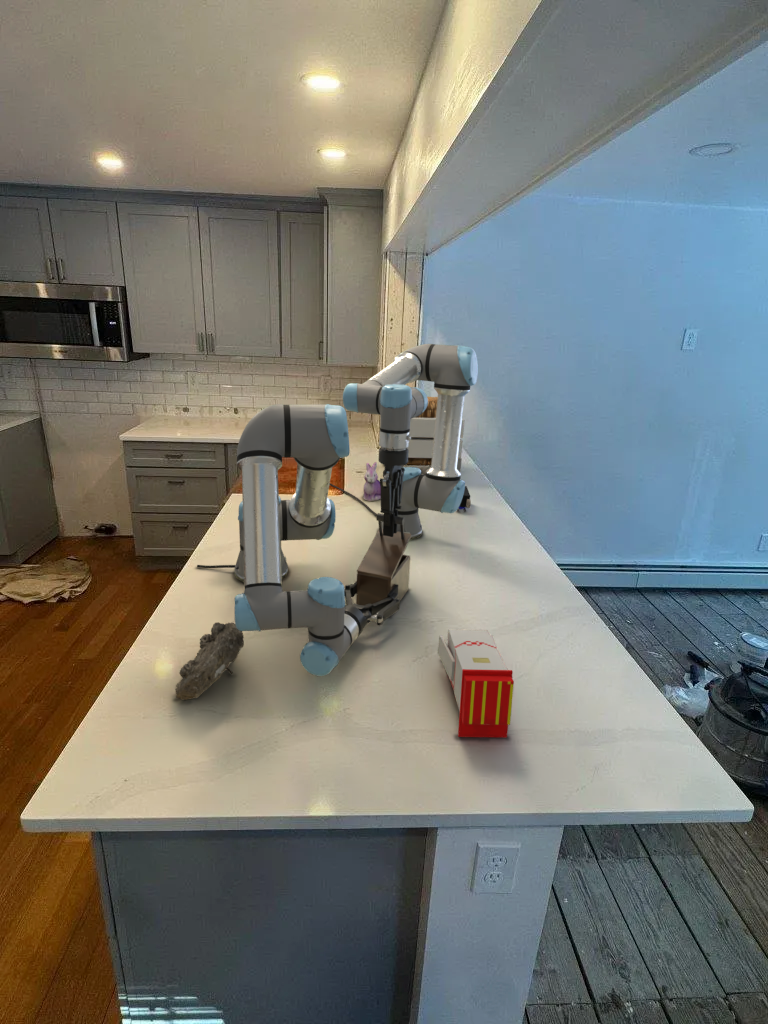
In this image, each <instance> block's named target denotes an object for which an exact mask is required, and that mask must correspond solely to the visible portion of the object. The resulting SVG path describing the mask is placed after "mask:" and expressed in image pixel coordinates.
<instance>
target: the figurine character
mask: <svg viewBox="0 0 768 1024" xmlns="http://www.w3.org/2000/svg"><path fill="white" fill-rule="evenodd" d="M471 501H472V500H471V494H470V491H469V488H468V486H467V485H465V490H464V494H463V498H462V501H461V503H460V506H459V508H458V509H457V510H456V512H460V510H463V511H464V513H466V512H467V509H470V508H471V505H472V504H471ZM466 508H467V509H466Z"/></svg>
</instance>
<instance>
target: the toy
mask: <svg viewBox="0 0 768 1024" xmlns="http://www.w3.org/2000/svg"><path fill="white" fill-rule="evenodd" d="M446 640H447V643H446V641H445V639H444V636H443V635H442V634H439V637H438V646H437V656H438V657H439V659H440V661H441V663H442V666H443V668H444V670H445V672H446V674H447V677H448V679H449V681H450V684H451V687H452V690H453V693H454V697H455V701H456V705H457V708H458V711H459V714H458V715H459V716H458V730H457V731H458V732H457V737H458V738H508V731H509V726H510V725H511V717H512V707H513V697H514V696H513V695H514V684H515V680H514V679H513V673H514V671H513V670H512V669H508V667H507V665H506V662H505V661H504V659H503V658H502V655H501V653H500V651H499V649H498V647H497V643H496V639H495V637H494V635H493V634H491V632H490V631H489V629H467V628H466V629H465V628H463V629H461V628H460V629H459V628H448V630H447V639H446Z"/></svg>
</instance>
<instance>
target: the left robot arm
mask: <svg viewBox="0 0 768 1024" xmlns="http://www.w3.org/2000/svg"><path fill="white" fill-rule="evenodd" d="M348 423H349V422H348V415H347V411H346V408H345V407H344V406H341V405H337V404H331V403H325V404H283V403H277V404H276V403H275V404H272V405H268V406H266V407H264V408H262V409H261V410H259V411H258V412H257V413H256V414H254V415H253V417H251V418H250V419H249V421H248V422H247V424H246V425H245V427H244V429H243V430H242V432H241V435H240V438H239V440H238V444H237V447H236V448H237V449H236V466H237V468H238V469H239V470H240V471H241V490H242V491H241V493H242V496H241V497H242V501H240V503H239V505H238V516H237V520H238V528H239V529H238V530H239V532H238V533H239V552H238V556H237V560H236V562H235V564H218V565H217V564H215V565H205V564H196V568H200V569H228V568H230V569H231V568H233V569H234V577H235V578H236V579H237V580H238V581H239V582H242V583H243V585H244V586H243V587H244V589H243V592H242V593H238V594H236V595H235V596H234V624H235V625H236V628H237V629H238V630H240V631H242V632H262V631H272V630H285V629H286V630H287V629H301V628H307V632H308V633H307V634H308V635H307V638H308V640H307V643H306V644H305V645H303V648H302V649H301V651H300V655H299V659H300V660H299V661H300V664H301V666H302V667H303V668H304V670H305V671H306V672H307V673H308V674H311V675H313V676H317V677H324V676H327V675H329V674H330V673H331V672H332V671H333V669H334V668H336V667H337V666H338V665H339V663H340V662H341V660H342V659H343V658H344V657H345V655H346V653H347V652H348V650H349V649H350V647H352V645H353V644H354V643H355V641H356V640H357V639H358V637H359V636H360V635H361V633H362V632H363V631H364V629H365V628H366V626H367V624H370V623H371V622H374V623H376V625H377V626H382V625H383V623H384V622H385V621H386V620H387V619H389V618H390V617H392V616H393V615H394V614H396V613H397V612H398V611H399V610H400V603H401V601H400V600H399V599H398V585H397V584H396V585H395V586H394V587H393V588H392V590H391V591H390V592H389V594H388V595H387V598H386V599H383V600H381V601H378V602H376V603H373V604H371V603H369V604H366V605H358V604H356V602H354V603H353V599H352V598H354V597H356V591H357V580H356V581H355V582H354V583H350V584H346V585H344V584H343V582H342V581H341V580H339V579H338V578H335V577H331V576H320V577H318V578H314V579H312V580H310V581H309V582H308V585H307V589H305V590H304V589H303V590H302V589H301V590H287V591H286V590H284V591H283V586H282V585H283V582H282V581H283V579H285V578H286V577H287V576H288V574H289V565H288V563H287V558H286V556H285V554H284V552H283V549H282V542H285V541H303V540H305V541H306V540H309V541H310V540H311V541H312V540H316V541H321V540H327V539H330V538H331V537H332V535H333V533H334V531H335V526H336V525H335V524H336V518H337V517H336V515H337V514H336V505H335V503H334V500H332V499H330V498H329V497H328V496H329V489H330V483H331V479H332V471H333V467H336V465H337V464H338V462H339V461H340V459H343V458H346V457H349V455H350V451H351V450H350V436H349V435H350V434H349V425H348ZM283 458H293V459H294V462H296V464H297V465H296V480H295V493H294V494H293V495H292V496H291V498H290V499H282V498H281V497H280V494H279V470H280V469H281V468H282V467H283Z"/></svg>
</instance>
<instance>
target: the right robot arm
mask: <svg viewBox="0 0 768 1024" xmlns="http://www.w3.org/2000/svg"><path fill="white" fill-rule="evenodd" d="M478 375H479V363H478V356H477V353H476V351H475V350H474V349H473V347H470V346H464V345H460V344H459V345H455V344H454V345H452V344H438V343H437V344H436V343H435V344H434V343H423V344H419V345H415V346H412V347H410V348H407V349H406V350H403V351H402V352H400V353H399V354H397V355H396V356H395V357H394V359H393V361H392V363H390V364H389V365H388V366H386V367H385V368H383V369H381V370H380V371H378V372H377V373H375V374H374V375H373V376H371V377H369V379H367V380H366V381H364V382H363V383H358V382H356V383H348V384H346V385H345V387H344V389H343V392H342V404H343V408H344V409H345V410H347V411H349V412H354V413H357V414H360V413H361V414H369V415H378V416H379V435H378V436H379V437H378V446H379V449H378V462H379V463H380V464H381V465H383V466H384V465H385V466H384V469H383V472H382V473H383V474H382V477H383V478H380V479H379V481H380V487H381V499H380V511H379V513H380V514H384V522H382V521H381V522H382V529H383V535H384V536H389V537H393V536H394V533H397V531H398V532H401V528H400V524H394V516H399V517H404V524H403V525H404V533H410V534H411V538H410V540H415V539H418V538H420V537H421V536H422V535H423V525H422V524H421V518H420V515H419V509H420V510H427V511H433V512H438V513H441V514H443V513H445V514H454V513H456V512H457V509H458V508H459V506H460V503H461V501H462V498H463V494H464V490H465V486H466V481H465V480H463V479H461V475H462V473H460V472H459V471H458V470H457V462H458V452H459V443H460V439H461V438H460V434H461V425H462V419H463V414H464V404H465V397H466V395H467V394H468V393H469V392H470V391H471V387H473V386H475V385H476V384H477V381H478ZM416 381H423V382H432V383H433V389H434V390H435V391H436V393H437V397H438V399H437V409H436V420H435V430H434V441H433V452H432V462H431V465H430V466H429V468H427V469H426V470H425V474H424V473H423V474H422V470H421V468H419V467H416V466H406V465H405V464H407V463H408V453H409V450H408V449H407V447H408V446H409V440H411V437H410V436H409V432H410V419H412V418H414V417H417V416H419V415H421V413H423V412H424V411H425V410H426V408H427V405H428V398H427V397H428V395H427V394H426V392H425V391H424V390H423V389H422V388H420V387H416V386H415V387H412V386H409V385H407V384H411V383H414V382H416ZM402 465H404V467H403V468H401V466H402ZM329 487H332V488H335V489H336V490H339V491H340V492H342V493H345V494H346V495H348V496H350V497H352V498H353V499H354V500H356V501H358V502H359V503H360V504H361V505H363V507H365V508H366V509H367V510H368V511H369V512H370V513H372V514H373V515H374V516H375V517H377V514H378V513H376V512H375V511H374V510H373V509H371V508H370V507H369V506H368V505H367V504H366V503H365V502H364V501H362V500H361V499H360V498H358V497H357V496H356V495H354V494H352V493H351V492H349V491H347V490H345V489H343V488H341V487H338V486H337V485H334V484H332V483H331V482H330V485H329ZM410 540H409V541H410Z"/></svg>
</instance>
